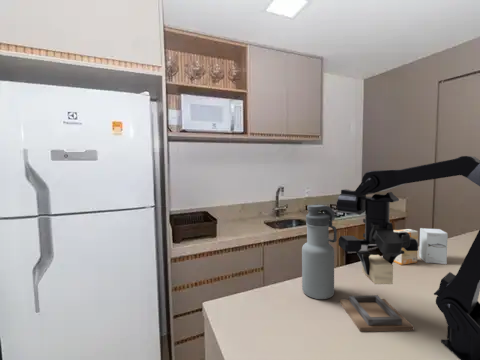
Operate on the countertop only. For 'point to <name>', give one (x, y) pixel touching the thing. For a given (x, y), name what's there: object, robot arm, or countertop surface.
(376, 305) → the nest board
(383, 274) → the maple block
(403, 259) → the supplement box
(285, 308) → the countertop surface
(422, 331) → the countertop surface
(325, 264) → the water bottle
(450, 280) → the robot arm
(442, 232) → the supplement box
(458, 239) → the countertop surface
